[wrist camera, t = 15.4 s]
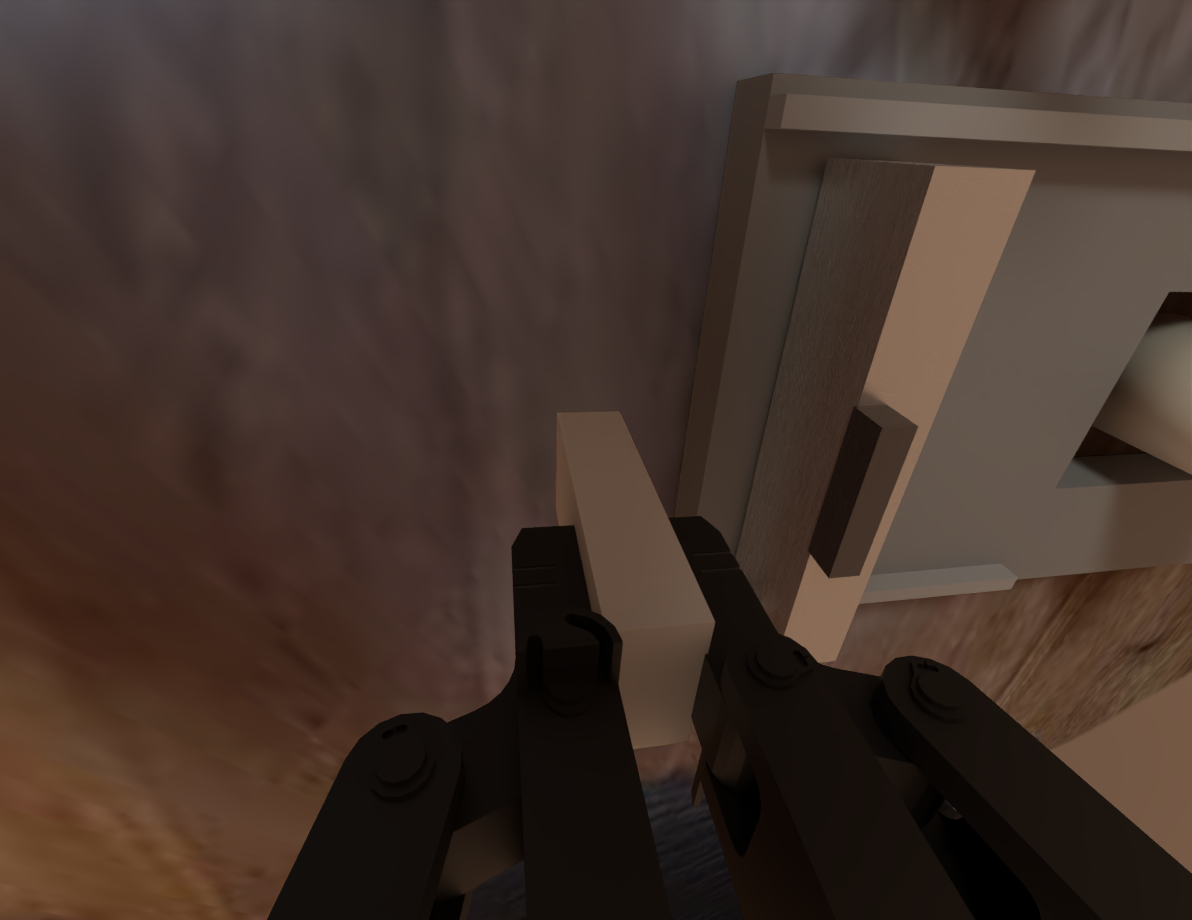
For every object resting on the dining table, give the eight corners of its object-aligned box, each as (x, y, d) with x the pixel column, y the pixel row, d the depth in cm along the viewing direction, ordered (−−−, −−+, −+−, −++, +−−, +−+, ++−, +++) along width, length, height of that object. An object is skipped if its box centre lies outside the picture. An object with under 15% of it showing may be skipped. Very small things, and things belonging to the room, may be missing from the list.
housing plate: (665, 573, 21) (687, 629, 19) (737, 81, 13) (791, 69, 11) (1161, 532, 25) (1230, 573, 23) (1459, 131, 17) (1617, 130, 14)
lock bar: (726, 583, 19) (785, 698, 15) (823, 157, 12) (974, 168, 8) (782, 579, 19) (854, 689, 15) (906, 161, 12) (1088, 173, 9)
